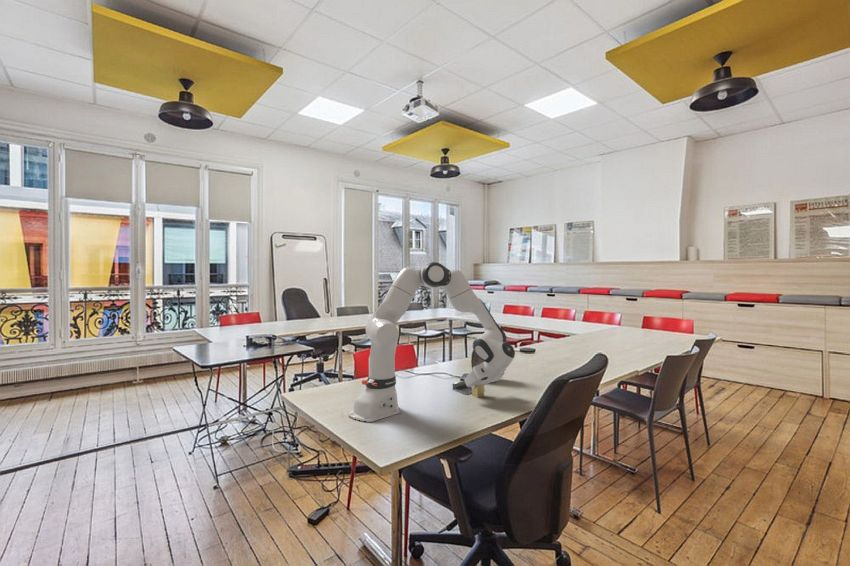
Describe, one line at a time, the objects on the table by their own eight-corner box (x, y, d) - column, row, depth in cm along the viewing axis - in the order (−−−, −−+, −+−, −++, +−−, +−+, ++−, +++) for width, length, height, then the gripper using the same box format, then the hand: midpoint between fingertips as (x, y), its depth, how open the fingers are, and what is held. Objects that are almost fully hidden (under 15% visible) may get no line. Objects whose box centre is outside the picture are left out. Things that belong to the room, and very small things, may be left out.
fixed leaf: (484, 390, 195) (484, 383, 194) (465, 394, 188) (465, 387, 188) (471, 385, 203) (471, 378, 203) (452, 389, 196) (452, 382, 196)
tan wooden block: (484, 396, 186) (484, 379, 186) (477, 397, 184) (477, 380, 183) (478, 393, 189) (478, 377, 189) (471, 395, 187) (471, 378, 187)
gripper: (504, 361, 186) (490, 377, 194) (470, 367, 175) (457, 383, 183) (511, 372, 182) (496, 388, 191) (477, 379, 171) (463, 395, 179)
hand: (477, 386), depth 187 cm, fingers closed on tan wooden block, 4 cm apart
